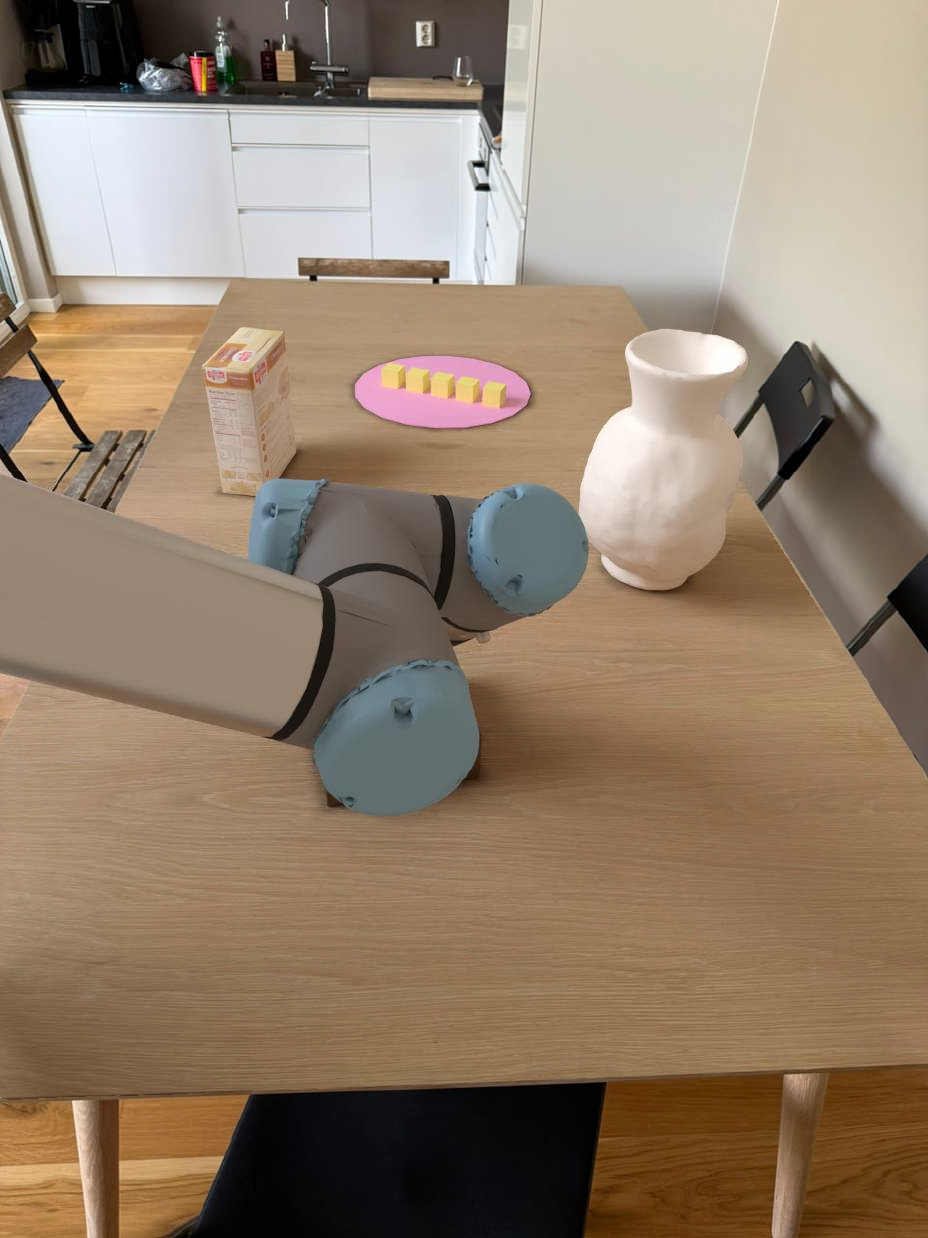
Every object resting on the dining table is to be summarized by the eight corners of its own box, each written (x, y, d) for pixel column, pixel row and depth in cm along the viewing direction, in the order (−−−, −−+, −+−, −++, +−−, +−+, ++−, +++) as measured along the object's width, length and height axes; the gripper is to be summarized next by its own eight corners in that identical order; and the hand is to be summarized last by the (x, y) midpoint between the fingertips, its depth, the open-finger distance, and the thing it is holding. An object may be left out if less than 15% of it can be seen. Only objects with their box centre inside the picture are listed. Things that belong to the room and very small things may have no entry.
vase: (556, 600, 111) (583, 370, 93) (590, 517, 127) (619, 307, 109) (707, 632, 107) (766, 397, 89) (722, 542, 123) (775, 327, 105)
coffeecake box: (255, 447, 141) (239, 325, 130) (298, 452, 141) (286, 329, 129) (219, 493, 130) (199, 364, 118) (266, 498, 129) (251, 369, 117)
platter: (496, 442, 145) (497, 423, 143) (322, 407, 154) (320, 389, 152) (552, 373, 169) (554, 356, 167) (399, 346, 178) (398, 329, 176)
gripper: (305, 689, 60) (262, 711, 80) (608, 598, 70) (504, 638, 89) (273, 584, 61) (238, 632, 80) (579, 508, 70) (481, 567, 90)
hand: (378, 635), depth 85 cm, fingers open, 13 cm apart
